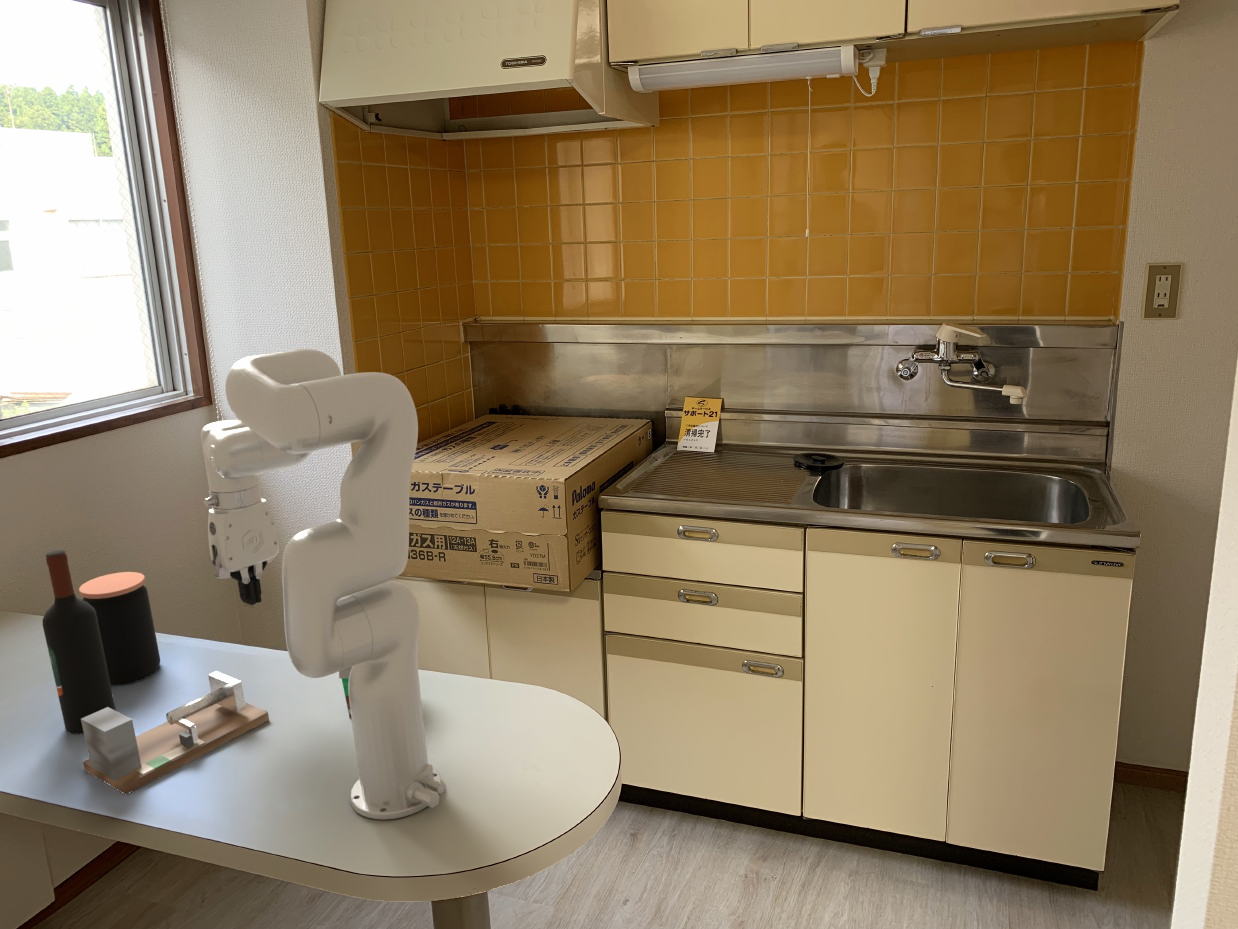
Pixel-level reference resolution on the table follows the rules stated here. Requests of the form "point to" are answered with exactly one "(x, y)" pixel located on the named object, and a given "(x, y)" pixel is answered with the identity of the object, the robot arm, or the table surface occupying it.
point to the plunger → (210, 701)
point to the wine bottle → (75, 649)
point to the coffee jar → (124, 625)
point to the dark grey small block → (186, 739)
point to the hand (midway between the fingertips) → (251, 601)
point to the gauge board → (156, 743)
